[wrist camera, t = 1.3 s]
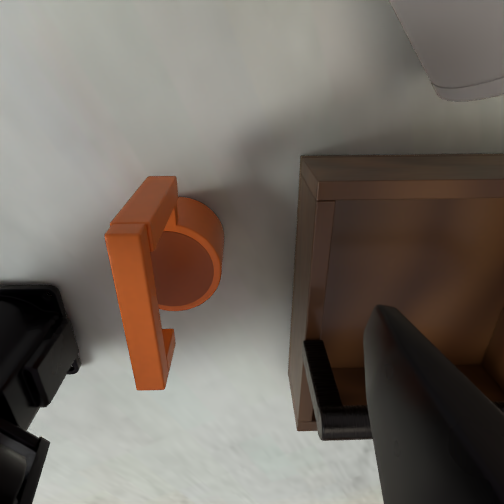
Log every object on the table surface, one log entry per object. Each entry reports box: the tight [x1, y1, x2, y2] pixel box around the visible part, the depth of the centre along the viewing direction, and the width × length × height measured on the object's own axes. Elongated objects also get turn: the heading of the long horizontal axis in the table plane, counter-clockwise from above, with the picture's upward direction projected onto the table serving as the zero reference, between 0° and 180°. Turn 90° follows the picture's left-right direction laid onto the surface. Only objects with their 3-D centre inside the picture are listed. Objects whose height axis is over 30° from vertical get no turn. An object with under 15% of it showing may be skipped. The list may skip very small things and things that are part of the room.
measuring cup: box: [104, 176, 224, 390], centre depth 15 cm, size 5×6×9 cm
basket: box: [288, 154, 504, 431], centre depth 19 cm, size 14×15×4 cm
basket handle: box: [302, 340, 504, 441], centre depth 16 cm, size 14×1×5 cm, turn 90°
